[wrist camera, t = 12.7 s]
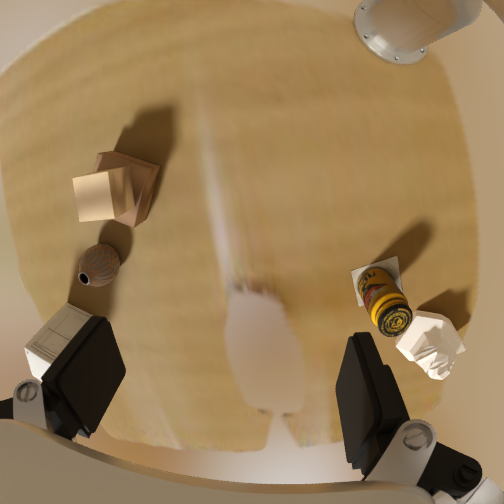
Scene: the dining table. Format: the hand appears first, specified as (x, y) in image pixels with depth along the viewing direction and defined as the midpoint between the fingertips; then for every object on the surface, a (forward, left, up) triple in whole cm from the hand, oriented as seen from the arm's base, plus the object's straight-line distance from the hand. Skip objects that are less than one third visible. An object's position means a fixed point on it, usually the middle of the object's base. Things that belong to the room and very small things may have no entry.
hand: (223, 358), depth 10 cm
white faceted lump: (+26, +34, -34) cm, 54 cm away
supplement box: (+28, -39, -34) cm, 59 cm away
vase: (+11, -27, -34) cm, 44 cm away
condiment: (+14, +20, -34) cm, 42 cm away
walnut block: (-2, -21, -34) cm, 40 cm away
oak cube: (-2, -21, -29) cm, 35 cm away
